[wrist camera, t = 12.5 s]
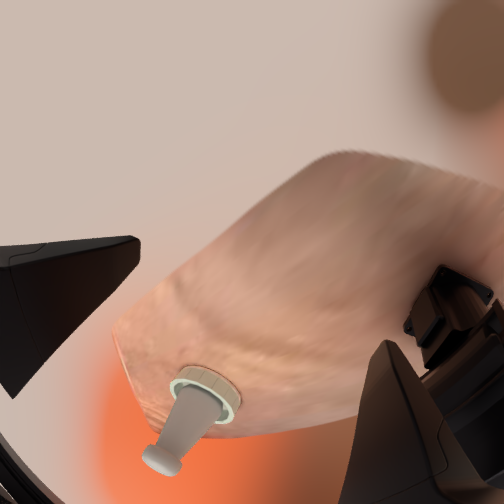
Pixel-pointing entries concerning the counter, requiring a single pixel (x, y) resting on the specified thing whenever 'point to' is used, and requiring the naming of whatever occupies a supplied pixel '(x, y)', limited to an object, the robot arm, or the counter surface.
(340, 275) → the counter surface
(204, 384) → the pale green shallow dish
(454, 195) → the counter surface
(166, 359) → the counter surface
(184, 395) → the salt shaker
